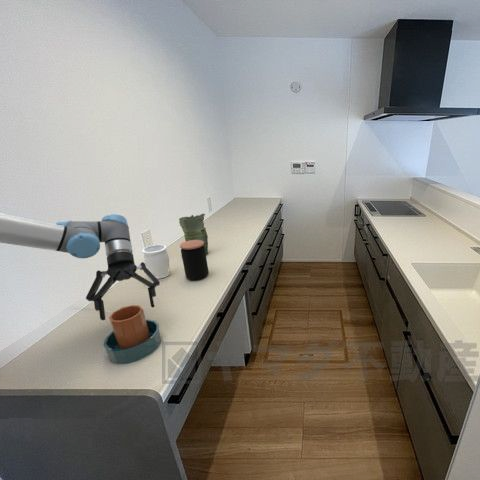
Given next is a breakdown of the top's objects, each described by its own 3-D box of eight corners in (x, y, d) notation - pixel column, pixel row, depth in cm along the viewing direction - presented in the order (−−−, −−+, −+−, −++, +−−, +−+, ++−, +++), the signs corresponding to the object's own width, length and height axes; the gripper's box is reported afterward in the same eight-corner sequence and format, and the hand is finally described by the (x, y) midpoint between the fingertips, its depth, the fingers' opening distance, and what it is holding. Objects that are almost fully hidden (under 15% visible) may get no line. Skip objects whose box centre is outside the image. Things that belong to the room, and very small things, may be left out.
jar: (144, 276, 133) (137, 249, 128) (165, 268, 141) (160, 242, 136) (155, 282, 127) (148, 254, 122) (176, 274, 135) (170, 247, 130)
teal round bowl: (116, 373, 78) (111, 359, 76) (103, 348, 87) (98, 335, 85) (169, 345, 89) (166, 332, 87) (152, 326, 98) (149, 313, 96)
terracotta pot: (125, 360, 82) (114, 325, 78) (117, 346, 88) (106, 313, 83) (154, 345, 88) (146, 312, 84) (145, 333, 94) (136, 302, 89)
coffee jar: (199, 269, 140) (193, 238, 134) (213, 274, 136) (208, 241, 130) (181, 278, 131) (174, 245, 125) (196, 283, 127) (190, 249, 121)
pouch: (184, 258, 153) (176, 217, 144) (195, 250, 164) (188, 211, 155) (202, 259, 152) (195, 218, 143) (212, 251, 163) (206, 212, 154)
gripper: (161, 252, 103) (172, 303, 96) (78, 267, 90) (83, 327, 84) (159, 244, 96) (170, 298, 90) (69, 258, 84) (75, 323, 78)
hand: (128, 312), depth 87 cm, fingers open, 13 cm apart
